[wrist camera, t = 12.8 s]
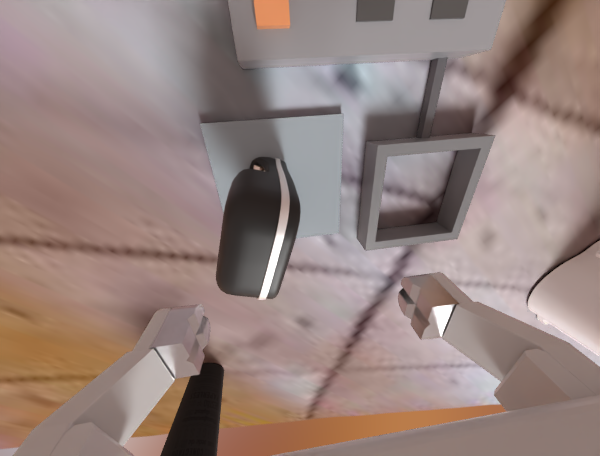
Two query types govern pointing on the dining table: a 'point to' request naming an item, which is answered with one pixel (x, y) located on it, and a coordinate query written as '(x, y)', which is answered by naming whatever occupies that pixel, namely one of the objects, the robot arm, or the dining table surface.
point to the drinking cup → (198, 415)
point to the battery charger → (258, 230)
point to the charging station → (372, 49)
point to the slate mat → (294, 152)
